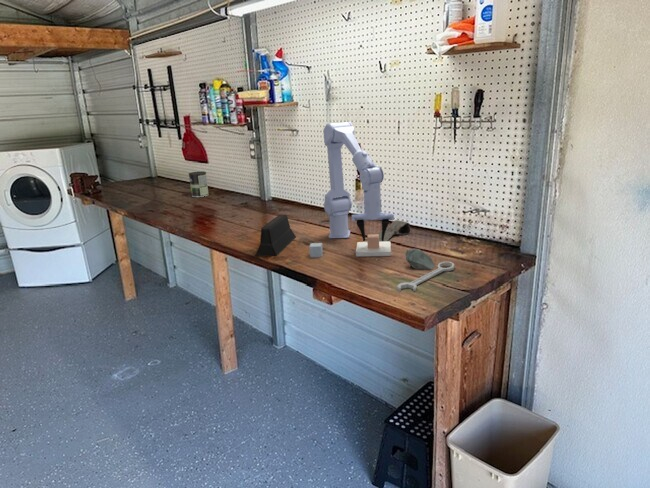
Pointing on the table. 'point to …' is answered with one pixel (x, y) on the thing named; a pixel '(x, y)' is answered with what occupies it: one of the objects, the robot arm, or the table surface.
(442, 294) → the table surface
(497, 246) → the table surface
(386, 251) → the base board
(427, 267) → the stone
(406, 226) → the axe head
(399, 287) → the wrench
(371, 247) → the terracotta block
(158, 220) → the table surface
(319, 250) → the grey blue block
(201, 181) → the coffee can
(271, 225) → the barrier
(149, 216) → the table surface
